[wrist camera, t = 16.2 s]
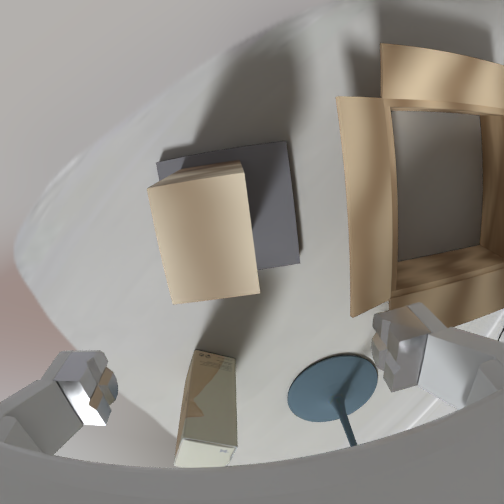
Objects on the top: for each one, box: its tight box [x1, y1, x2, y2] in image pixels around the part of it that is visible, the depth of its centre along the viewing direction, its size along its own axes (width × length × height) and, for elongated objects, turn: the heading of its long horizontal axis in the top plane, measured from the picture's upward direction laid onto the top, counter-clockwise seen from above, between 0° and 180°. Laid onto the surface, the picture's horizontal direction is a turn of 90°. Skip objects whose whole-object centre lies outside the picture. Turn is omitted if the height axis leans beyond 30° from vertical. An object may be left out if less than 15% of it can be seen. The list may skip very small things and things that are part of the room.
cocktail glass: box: [288, 355, 378, 447], centre depth 21 cm, size 18×18×25 cm
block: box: [147, 160, 260, 304], centre depth 20 cm, size 4×6×10 cm
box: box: [174, 350, 238, 468], centre depth 26 cm, size 5×4×11 cm
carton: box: [336, 43, 504, 328], centre depth 23 cm, size 23×23×6 cm
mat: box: [156, 141, 300, 270], centre depth 25 cm, size 10×10×1 cm
